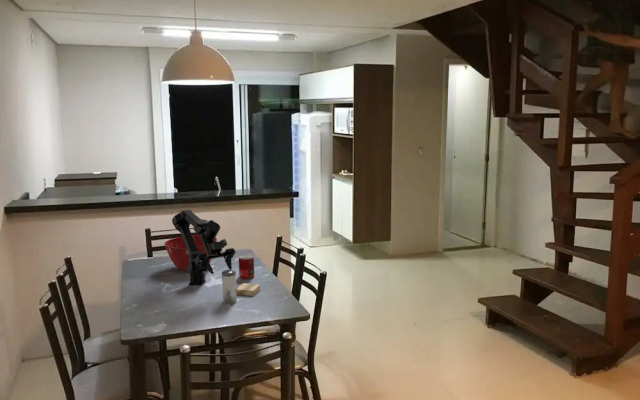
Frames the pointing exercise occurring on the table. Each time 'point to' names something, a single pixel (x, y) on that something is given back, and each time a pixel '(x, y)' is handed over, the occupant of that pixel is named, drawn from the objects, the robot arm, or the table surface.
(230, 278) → the canister
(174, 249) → the mixing bowl
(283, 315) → the table surface
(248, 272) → the canned food
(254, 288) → the oak board
